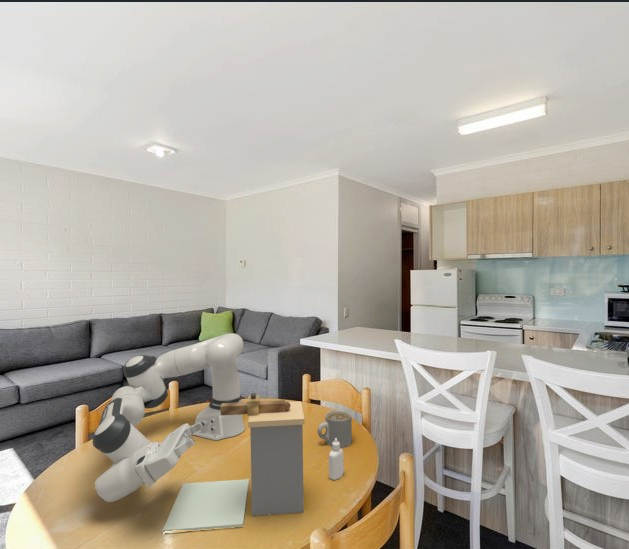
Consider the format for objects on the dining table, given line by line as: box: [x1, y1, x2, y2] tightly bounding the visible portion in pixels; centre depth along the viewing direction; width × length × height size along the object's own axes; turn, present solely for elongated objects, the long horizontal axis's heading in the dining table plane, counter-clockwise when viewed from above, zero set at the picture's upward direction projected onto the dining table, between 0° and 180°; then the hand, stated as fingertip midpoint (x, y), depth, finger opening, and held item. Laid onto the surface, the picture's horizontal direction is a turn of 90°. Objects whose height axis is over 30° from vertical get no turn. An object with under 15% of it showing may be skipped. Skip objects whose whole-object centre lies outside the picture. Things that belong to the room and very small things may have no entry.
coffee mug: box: [317, 410, 353, 449], centre depth 140 cm, size 13×10×10 cm
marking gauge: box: [221, 392, 290, 417], centre depth 104 cm, size 20×5×5 cm, turn 96°
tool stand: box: [247, 400, 305, 517], centre depth 105 cm, size 15×13×26 cm
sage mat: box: [162, 478, 250, 533], centre depth 103 cm, size 20×20×1 cm
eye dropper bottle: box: [328, 438, 345, 481], centre depth 117 cm, size 4×6×12 cm
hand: (197, 432), depth 103 cm, fingers open, 8 cm apart
